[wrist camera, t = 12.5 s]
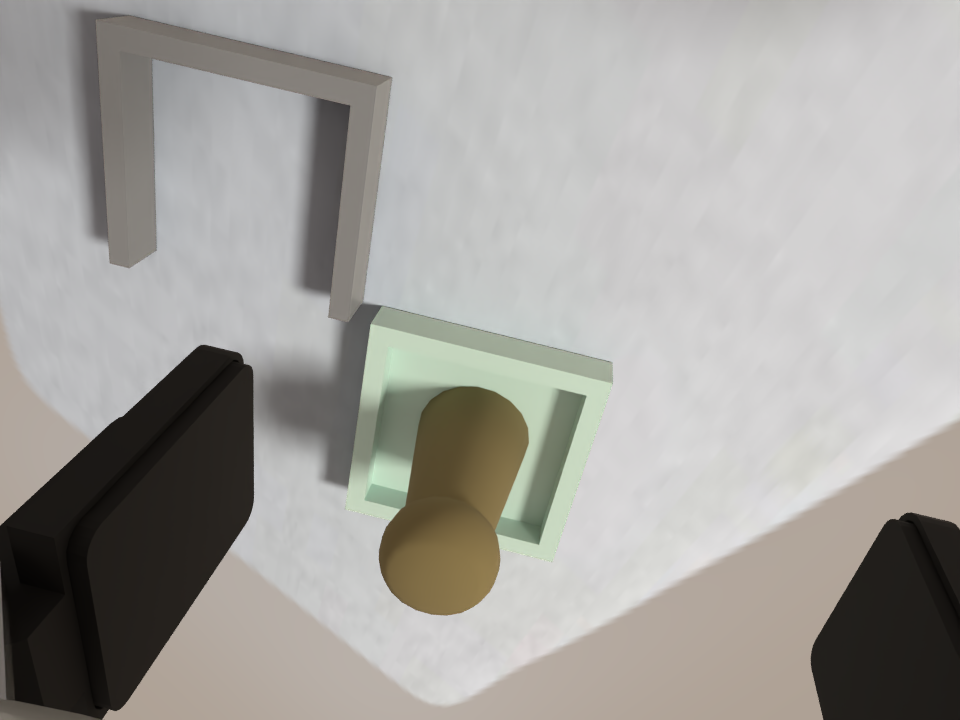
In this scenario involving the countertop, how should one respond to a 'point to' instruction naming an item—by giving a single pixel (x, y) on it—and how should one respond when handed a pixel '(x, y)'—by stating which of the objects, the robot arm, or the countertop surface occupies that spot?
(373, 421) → the tray
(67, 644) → the robot arm
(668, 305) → the countertop surface
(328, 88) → the frame
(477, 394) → the cork
